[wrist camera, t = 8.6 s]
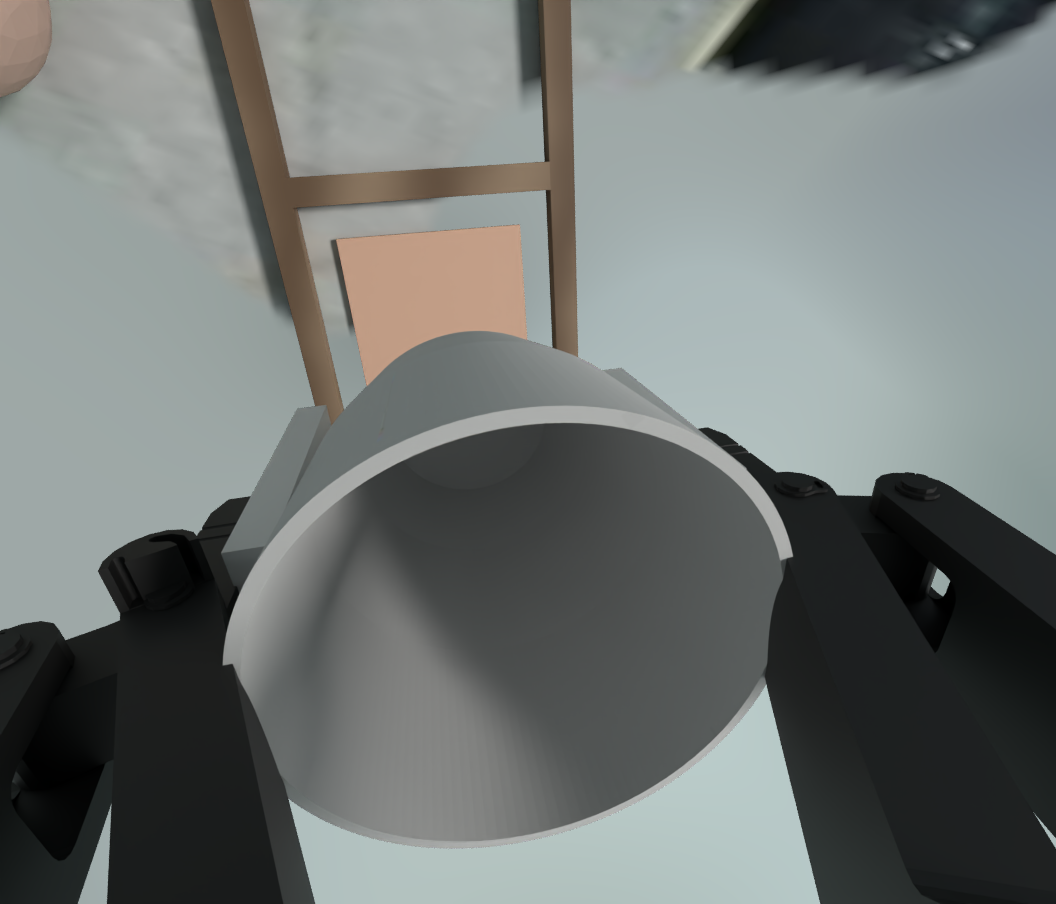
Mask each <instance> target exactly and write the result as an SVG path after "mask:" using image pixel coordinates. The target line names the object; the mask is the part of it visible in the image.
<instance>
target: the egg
mask: <svg viewBox="0 0 1056 904" xmlns="http://www.w3.org/2000/svg"><path fill="white" fill-rule="evenodd" d="M51 41H52V23H51V11H50V6H49V1H48V0H0V97H3V96H6V95H9V94H11V93H14V92H17V91H20V90H21V89H22V88H23V87H24V86H26V85H27V84H28V83H29V82H30V81H31V80H32V79H34V78H35V77H36V76H37V75H38V73H39V71H40V70H41V68H42V67H43V65H44V64H45V61H46V58H47V55H48V52H49V48H50V45H51Z"/></svg>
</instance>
